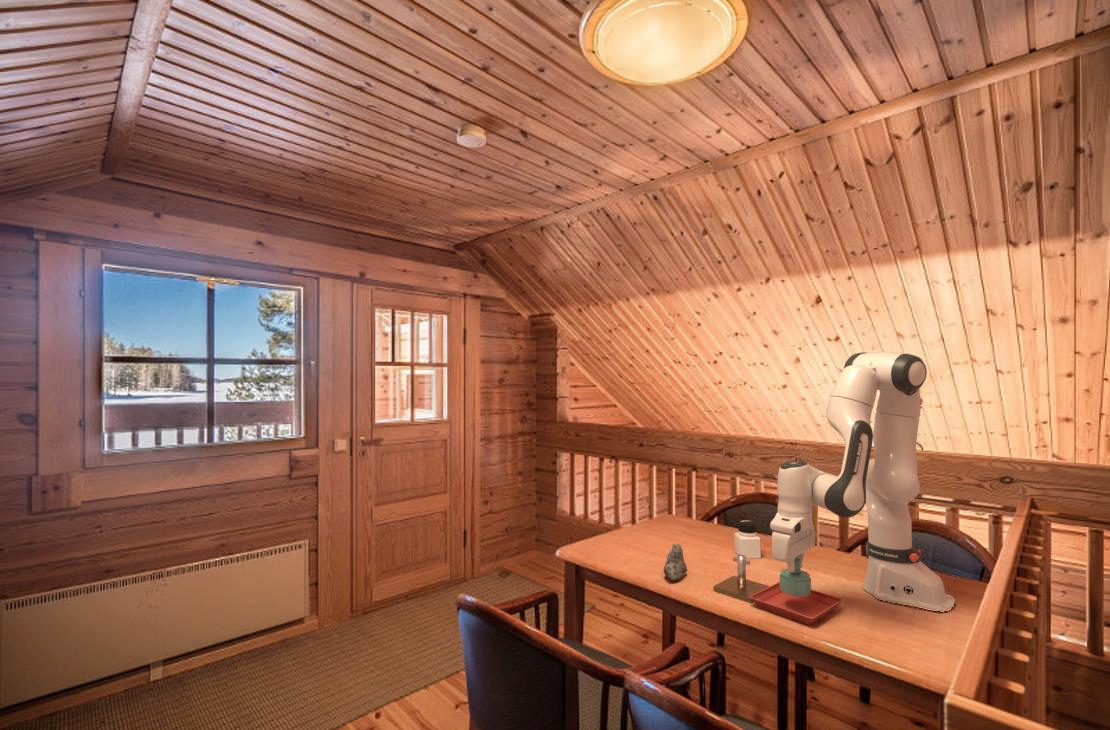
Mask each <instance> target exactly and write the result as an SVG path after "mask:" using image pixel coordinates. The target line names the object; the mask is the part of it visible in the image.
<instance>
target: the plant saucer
mask: <svg viewBox="0 0 1110 730" xmlns="http://www.w3.org/2000/svg"><path fill="white" fill-rule="evenodd" d="M769 586H770V587H768V588H766V589H764V590H762V591H760V592H758V593H755V594H753V595H751V596H750V598H751V600H752V601H753V603H754V604H755V605H756V606H757V608H760V609H763V610H765V611H767V612H770V613H771V612H772V613H774V614H776V615H779V616H783V617H785V618H788V619H790V620H794V621H796V622H799V623H802V624H804V625H809V626H810V625H812V624H814V623H816V622H817V621H818V620H820V619H822V618H823V617H824V616H826V615H828V614H829V613H831V612H833V611H834V610H835V609H837V607H839V606H840V604H841V603H842V601H843V598H841V597H836V596H833V595H830V594H828V593H823V592H821V591H816V590H814V589H811V594H809V595H808V596H793V595H789V594H786V593H784V592H783V591H782V590H781V589H780V581H778V582H776V583H774V584H772V585H769Z"/></svg>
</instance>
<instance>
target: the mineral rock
mask: <svg viewBox="0 0 1110 730" xmlns="http://www.w3.org/2000/svg"><path fill="white" fill-rule="evenodd" d="M671 546H672V548H671V549H670V551H669V552H668V554H667V557H666V560H665V564H664V567H663V574H664V575H665V576H666V577H668V578H669V579H670V580H673V581H674V580H679V579H681V578H682V577H683V576H684V575H686V574H687V572H688V568H687V564H686V562H685V559H684V551H683V547H682V545H681V544H680V543H678V542H677V543H672V545H671Z"/></svg>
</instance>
